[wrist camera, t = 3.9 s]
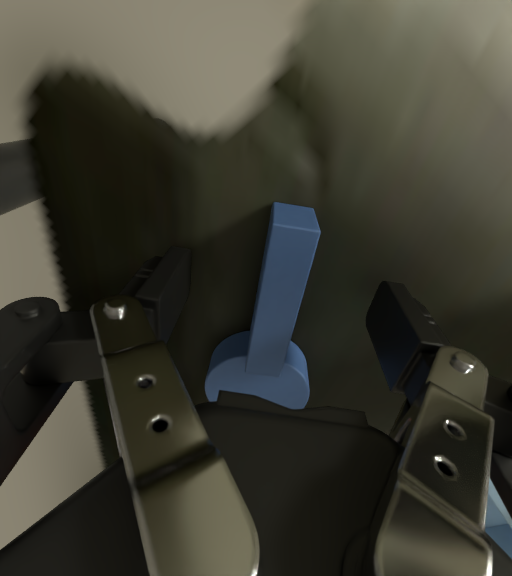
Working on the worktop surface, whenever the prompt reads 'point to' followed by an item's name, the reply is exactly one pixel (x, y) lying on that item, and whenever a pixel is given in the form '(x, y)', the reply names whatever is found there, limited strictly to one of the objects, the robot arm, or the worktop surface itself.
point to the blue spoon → (272, 318)
